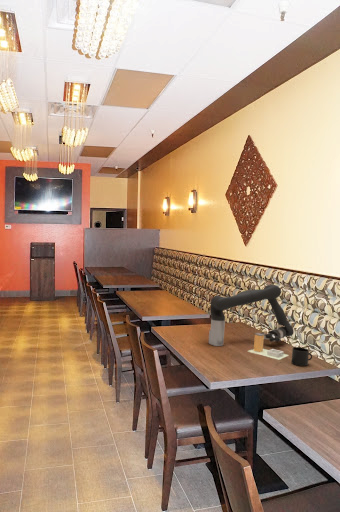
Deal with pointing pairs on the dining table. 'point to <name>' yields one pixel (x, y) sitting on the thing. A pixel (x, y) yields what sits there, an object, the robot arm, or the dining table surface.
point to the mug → (300, 356)
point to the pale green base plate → (270, 353)
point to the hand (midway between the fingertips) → (264, 338)
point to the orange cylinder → (258, 342)
